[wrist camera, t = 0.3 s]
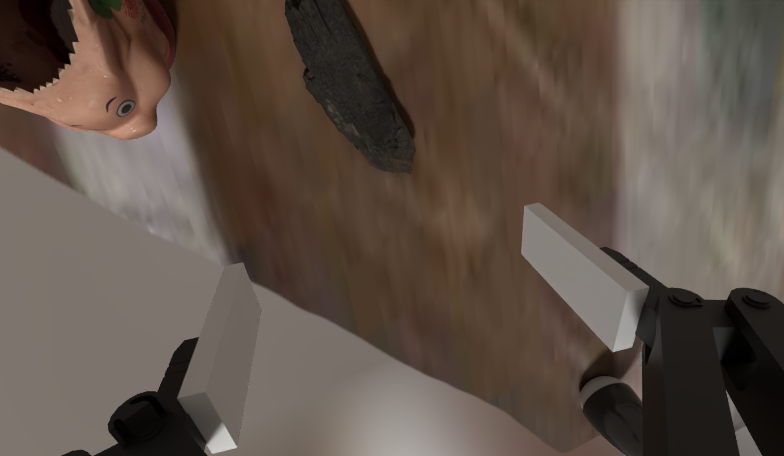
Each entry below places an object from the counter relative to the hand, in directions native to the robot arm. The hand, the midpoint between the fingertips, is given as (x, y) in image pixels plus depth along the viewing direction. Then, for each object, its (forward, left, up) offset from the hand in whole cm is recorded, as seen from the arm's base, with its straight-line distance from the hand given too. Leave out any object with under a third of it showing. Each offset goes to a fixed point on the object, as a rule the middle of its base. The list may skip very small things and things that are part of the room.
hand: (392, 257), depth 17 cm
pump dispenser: (+64, +31, -28) cm, 76 cm away
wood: (-3, +2, -29) cm, 29 cm away
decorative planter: (-16, -17, -28) cm, 37 cm away
